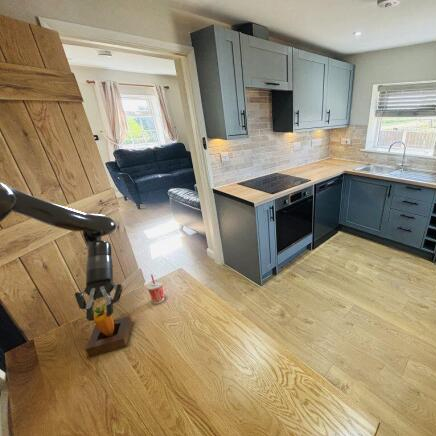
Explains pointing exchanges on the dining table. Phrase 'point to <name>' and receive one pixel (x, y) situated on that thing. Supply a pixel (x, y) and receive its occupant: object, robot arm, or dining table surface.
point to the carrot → (104, 321)
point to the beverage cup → (155, 290)
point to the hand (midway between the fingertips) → (100, 318)
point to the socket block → (112, 343)
